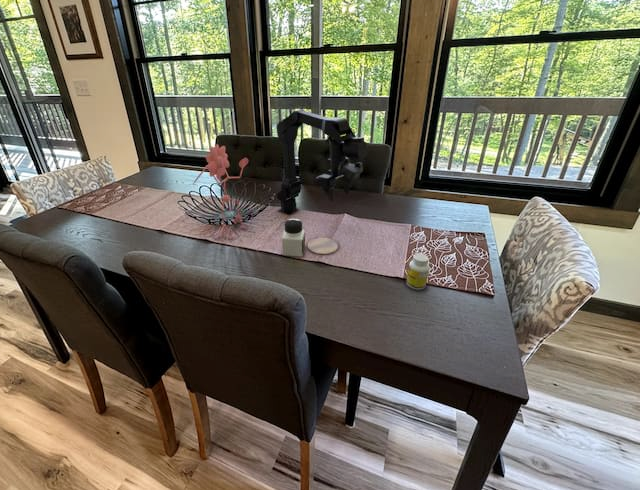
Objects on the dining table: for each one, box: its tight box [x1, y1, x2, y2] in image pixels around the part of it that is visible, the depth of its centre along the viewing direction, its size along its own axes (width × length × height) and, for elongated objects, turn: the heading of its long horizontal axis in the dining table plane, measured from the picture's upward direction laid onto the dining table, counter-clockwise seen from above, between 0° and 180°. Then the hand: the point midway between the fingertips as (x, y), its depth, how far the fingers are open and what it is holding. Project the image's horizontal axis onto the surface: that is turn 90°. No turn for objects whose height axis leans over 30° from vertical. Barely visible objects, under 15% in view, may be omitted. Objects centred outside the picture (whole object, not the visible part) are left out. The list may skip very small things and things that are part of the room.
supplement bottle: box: [405, 252, 431, 291], centre depth 90 cm, size 5×5×10 cm
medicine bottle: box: [281, 218, 306, 258], centre depth 109 cm, size 7×7×12 cm
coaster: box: [306, 237, 339, 255], centre depth 114 cm, size 11×11×1 cm
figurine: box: [193, 143, 249, 240], centre depth 120 cm, size 15×26×35 cm, turn 149°
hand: (339, 197), depth 116 cm, fingers open, 9 cm apart
